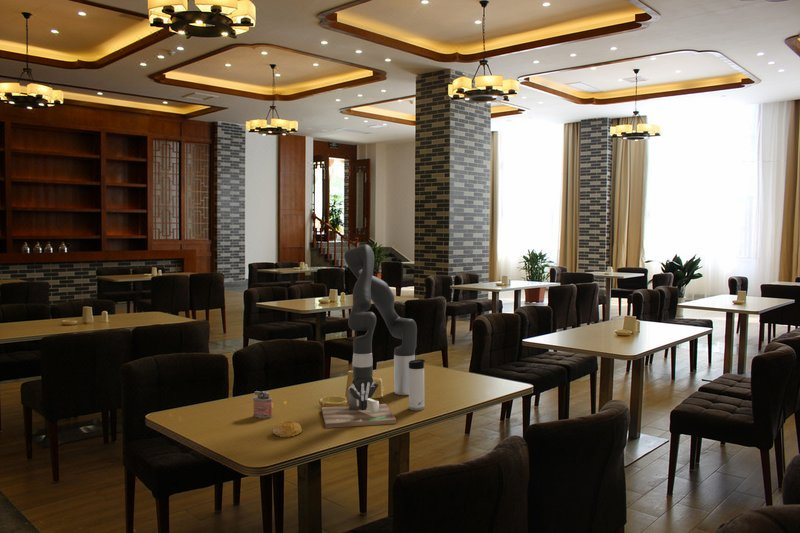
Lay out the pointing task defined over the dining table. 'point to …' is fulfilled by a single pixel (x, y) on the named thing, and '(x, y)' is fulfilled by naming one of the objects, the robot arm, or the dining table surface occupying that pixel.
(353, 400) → the mallet
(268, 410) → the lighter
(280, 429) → the golden round bun
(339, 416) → the wooden cutting board
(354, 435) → the dining table surface
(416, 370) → the travel mug
